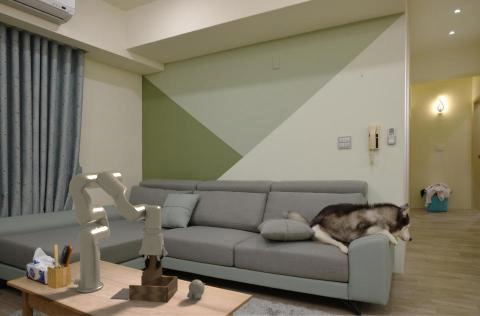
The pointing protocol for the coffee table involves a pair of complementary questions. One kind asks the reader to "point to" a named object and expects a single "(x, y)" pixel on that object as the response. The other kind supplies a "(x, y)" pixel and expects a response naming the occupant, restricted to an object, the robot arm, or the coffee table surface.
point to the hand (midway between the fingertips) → (152, 267)
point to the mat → (122, 294)
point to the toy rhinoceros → (196, 289)
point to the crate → (154, 290)
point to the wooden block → (152, 270)
